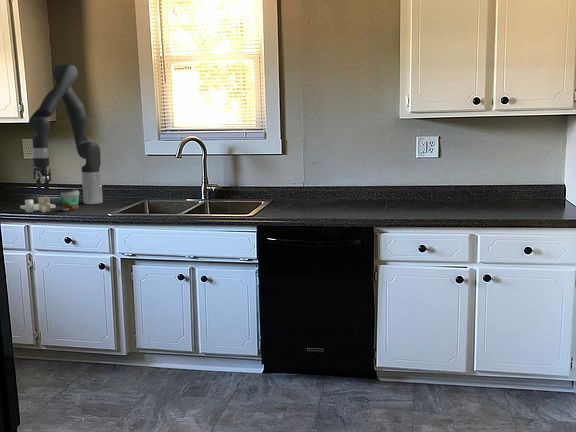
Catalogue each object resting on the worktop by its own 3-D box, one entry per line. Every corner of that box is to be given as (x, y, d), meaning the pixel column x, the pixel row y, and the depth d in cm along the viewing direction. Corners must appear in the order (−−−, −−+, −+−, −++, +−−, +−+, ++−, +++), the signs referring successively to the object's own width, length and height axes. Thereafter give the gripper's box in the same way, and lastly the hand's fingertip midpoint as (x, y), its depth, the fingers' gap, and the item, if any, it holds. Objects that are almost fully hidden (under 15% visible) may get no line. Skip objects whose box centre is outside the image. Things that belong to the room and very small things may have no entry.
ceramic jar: (31, 210, 338) (31, 199, 337) (35, 211, 335) (34, 200, 334) (24, 211, 335) (23, 200, 334) (27, 212, 332) (26, 200, 331)
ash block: (46, 210, 339) (45, 196, 338) (50, 211, 337) (49, 197, 336) (39, 211, 337) (38, 197, 335) (42, 212, 334) (41, 198, 333)
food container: (72, 212, 332) (71, 192, 330) (61, 212, 333) (60, 192, 331) (85, 208, 344) (84, 189, 342) (74, 208, 345) (73, 189, 343)
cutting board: (45, 205, 355) (45, 202, 355) (55, 207, 348) (55, 204, 347) (20, 208, 345) (20, 205, 345) (29, 210, 338) (29, 208, 337)
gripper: (54, 157, 330) (56, 189, 332) (41, 155, 340) (43, 187, 342) (40, 158, 324) (42, 191, 327) (27, 156, 334) (29, 188, 337)
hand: (42, 189), depth 335 cm, fingers open, 8 cm apart
